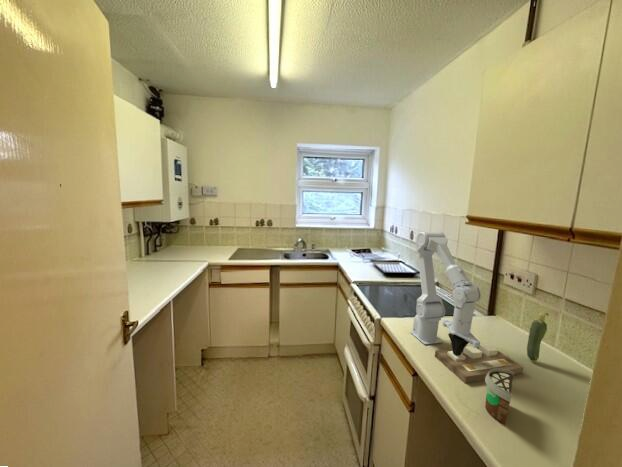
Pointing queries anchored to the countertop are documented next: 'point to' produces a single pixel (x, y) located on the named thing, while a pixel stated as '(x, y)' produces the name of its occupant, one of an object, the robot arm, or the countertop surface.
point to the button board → (477, 365)
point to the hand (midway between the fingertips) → (456, 354)
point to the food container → (498, 393)
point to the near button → (456, 358)
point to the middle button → (472, 352)
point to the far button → (488, 350)
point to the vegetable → (536, 337)
